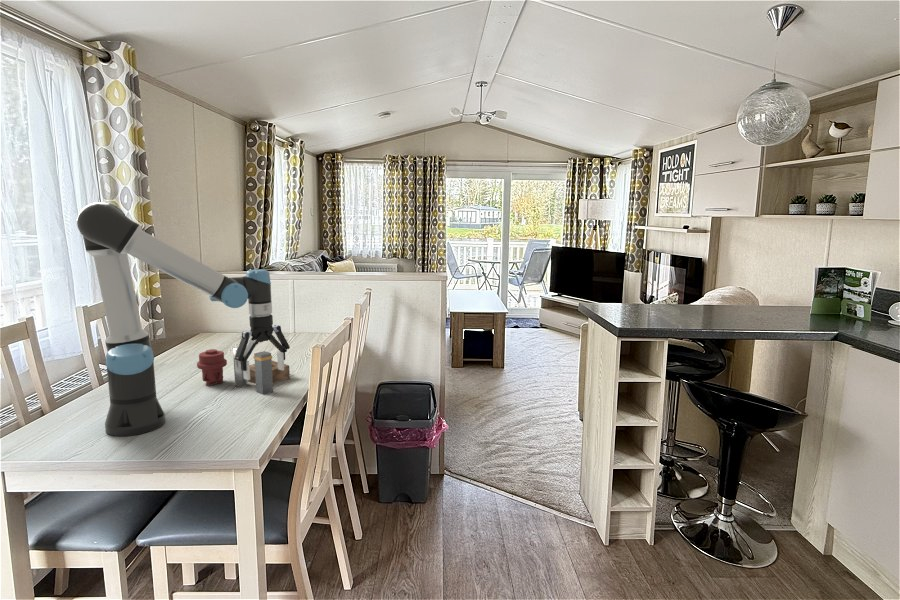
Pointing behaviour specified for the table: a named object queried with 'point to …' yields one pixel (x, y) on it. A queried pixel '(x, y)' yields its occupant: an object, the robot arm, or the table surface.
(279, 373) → the socket block
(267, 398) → the table surface
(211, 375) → the mechanical component
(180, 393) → the table surface
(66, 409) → the table surface
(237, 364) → the silver metal bar
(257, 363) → the square bit
